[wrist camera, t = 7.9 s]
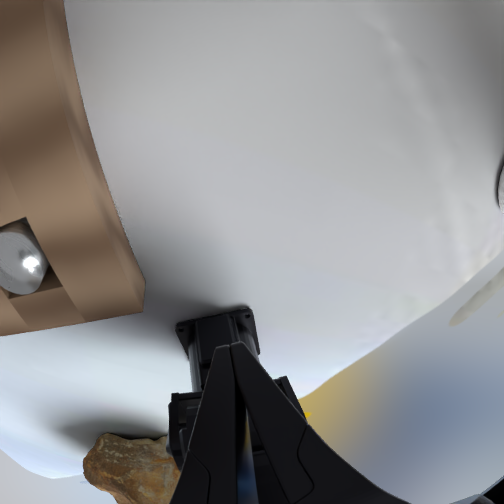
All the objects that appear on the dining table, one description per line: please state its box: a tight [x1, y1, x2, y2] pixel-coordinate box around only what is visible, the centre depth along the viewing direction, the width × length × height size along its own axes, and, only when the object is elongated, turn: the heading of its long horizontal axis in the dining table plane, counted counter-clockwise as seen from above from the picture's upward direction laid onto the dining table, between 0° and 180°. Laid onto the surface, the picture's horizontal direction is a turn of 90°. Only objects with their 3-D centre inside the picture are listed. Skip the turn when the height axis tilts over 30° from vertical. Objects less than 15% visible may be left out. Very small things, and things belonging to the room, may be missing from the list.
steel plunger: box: [0, 217, 50, 295], centre depth 16 cm, size 4×4×3 cm
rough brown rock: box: [83, 433, 181, 504], centre depth 34 cm, size 23×17×15 cm
